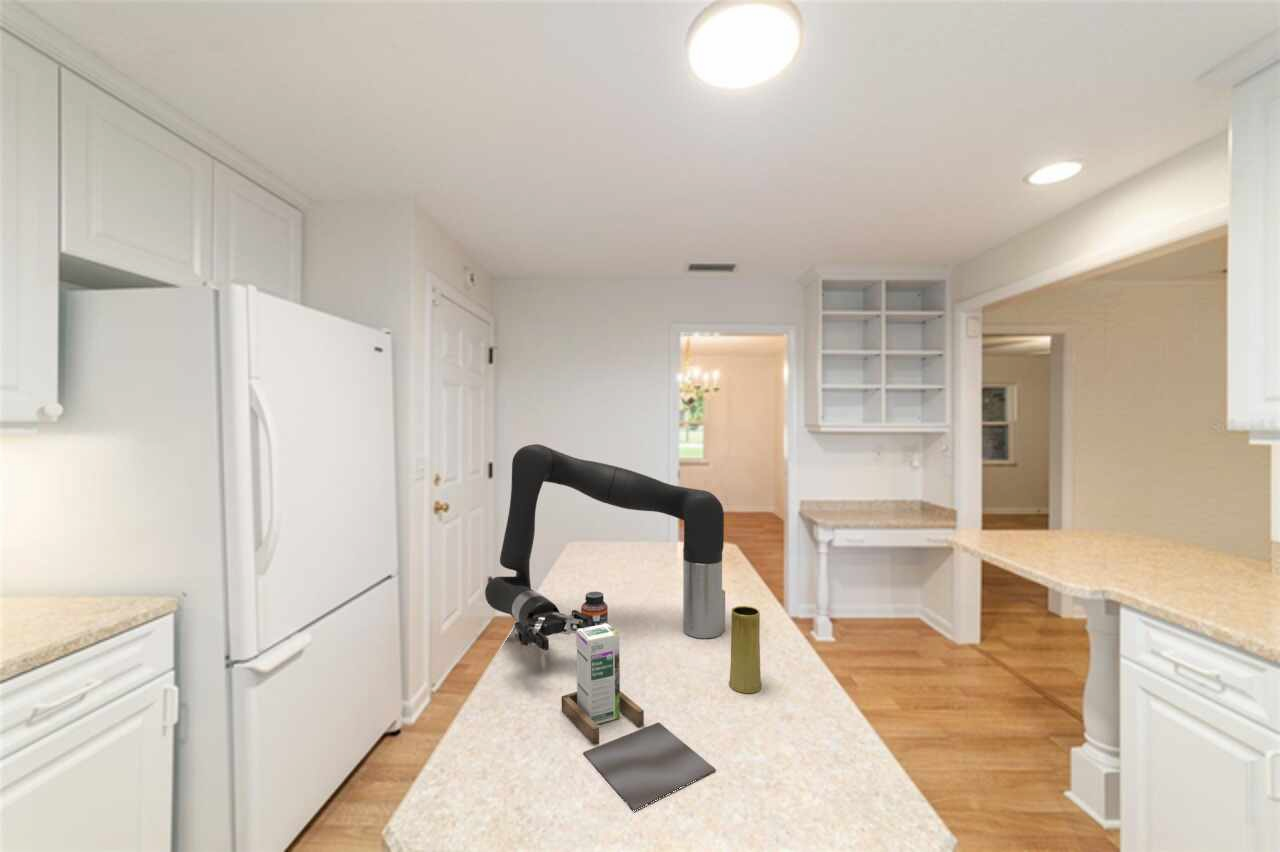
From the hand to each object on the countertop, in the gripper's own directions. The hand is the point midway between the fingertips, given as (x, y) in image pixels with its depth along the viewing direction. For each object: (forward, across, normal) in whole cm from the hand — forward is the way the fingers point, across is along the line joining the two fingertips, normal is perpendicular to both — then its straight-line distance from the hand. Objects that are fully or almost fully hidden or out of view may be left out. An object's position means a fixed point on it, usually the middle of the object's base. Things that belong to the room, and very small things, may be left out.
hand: (568, 640), depth 98 cm
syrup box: (+11, 0, +9) cm, 14 cm away
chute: (+20, 0, +9) cm, 22 cm away
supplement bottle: (-14, +13, +9) cm, 21 cm away
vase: (+18, +28, +9) cm, 35 cm away
